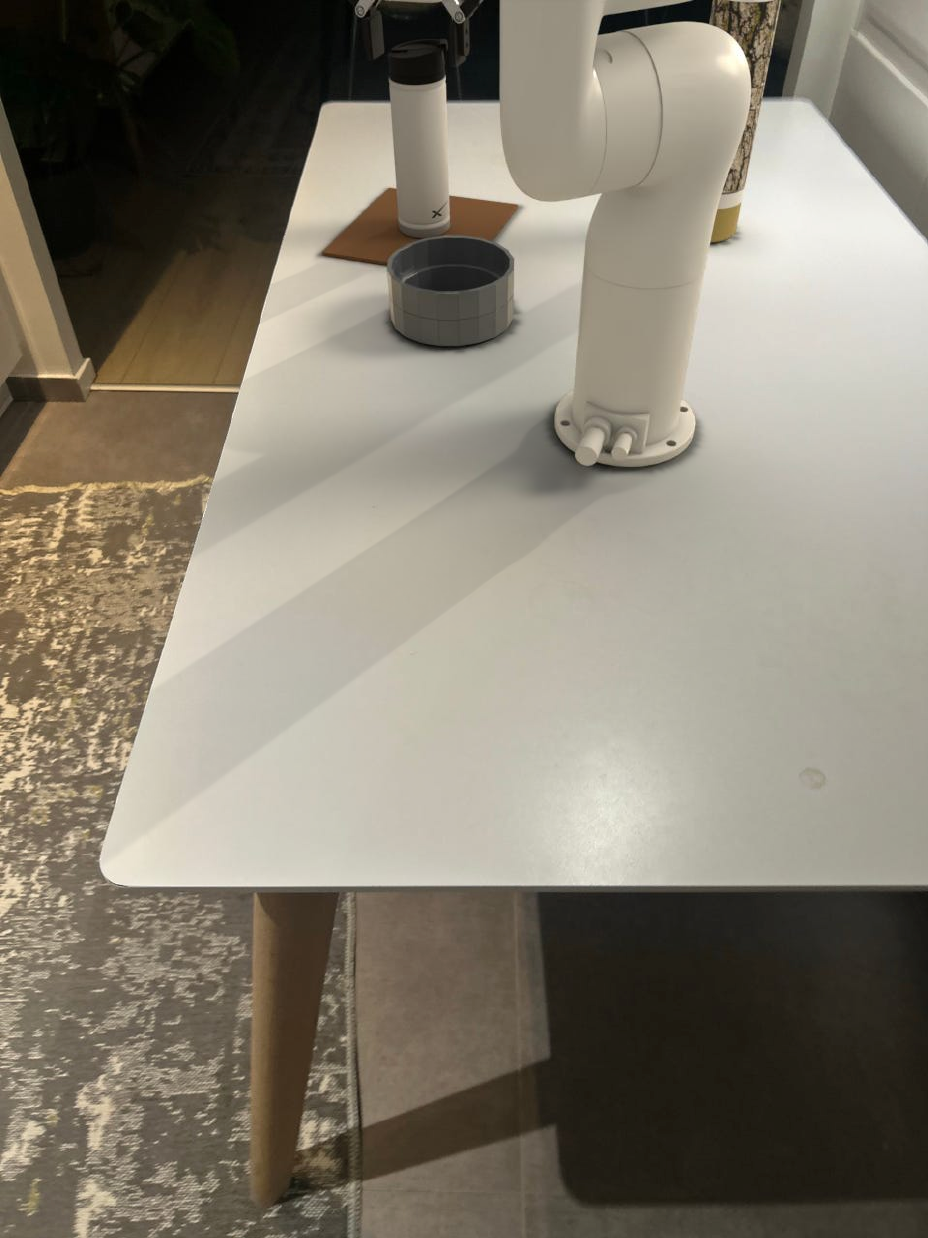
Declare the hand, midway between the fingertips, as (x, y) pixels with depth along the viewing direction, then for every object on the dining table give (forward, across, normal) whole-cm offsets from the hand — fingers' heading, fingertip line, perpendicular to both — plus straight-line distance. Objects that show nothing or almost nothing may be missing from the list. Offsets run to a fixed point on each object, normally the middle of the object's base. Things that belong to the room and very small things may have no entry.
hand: (416, 60), depth 100 cm
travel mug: (+18, 0, 0) cm, 19 cm away
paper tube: (+19, +32, +11) cm, 39 cm away
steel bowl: (+19, +10, -18) cm, 28 cm away
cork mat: (+19, -1, +1) cm, 19 cm away
